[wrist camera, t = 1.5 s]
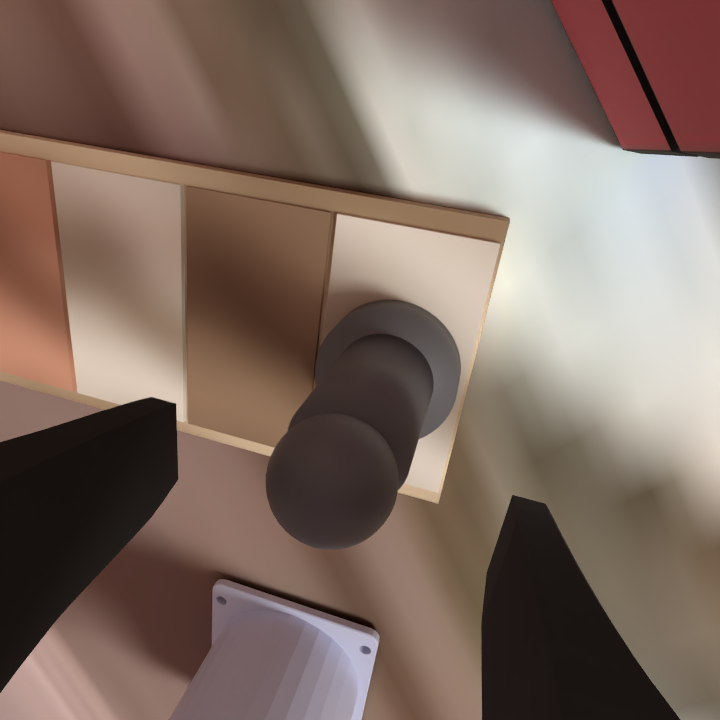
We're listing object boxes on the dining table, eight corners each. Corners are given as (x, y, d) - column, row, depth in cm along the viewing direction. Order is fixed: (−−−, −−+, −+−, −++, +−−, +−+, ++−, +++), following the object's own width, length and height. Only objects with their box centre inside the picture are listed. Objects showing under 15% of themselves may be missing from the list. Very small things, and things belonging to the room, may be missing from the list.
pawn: (445, 439, 17) (403, 639, 10) (320, 407, 18) (204, 572, 11) (475, 316, 15) (450, 458, 8) (335, 286, 16) (205, 393, 9)
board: (440, 490, 19) (437, 507, 18) (-92, 342, 23) (-116, 350, 23) (509, 218, 15) (509, 222, 14) (-155, 103, 19) (-187, 100, 18)
